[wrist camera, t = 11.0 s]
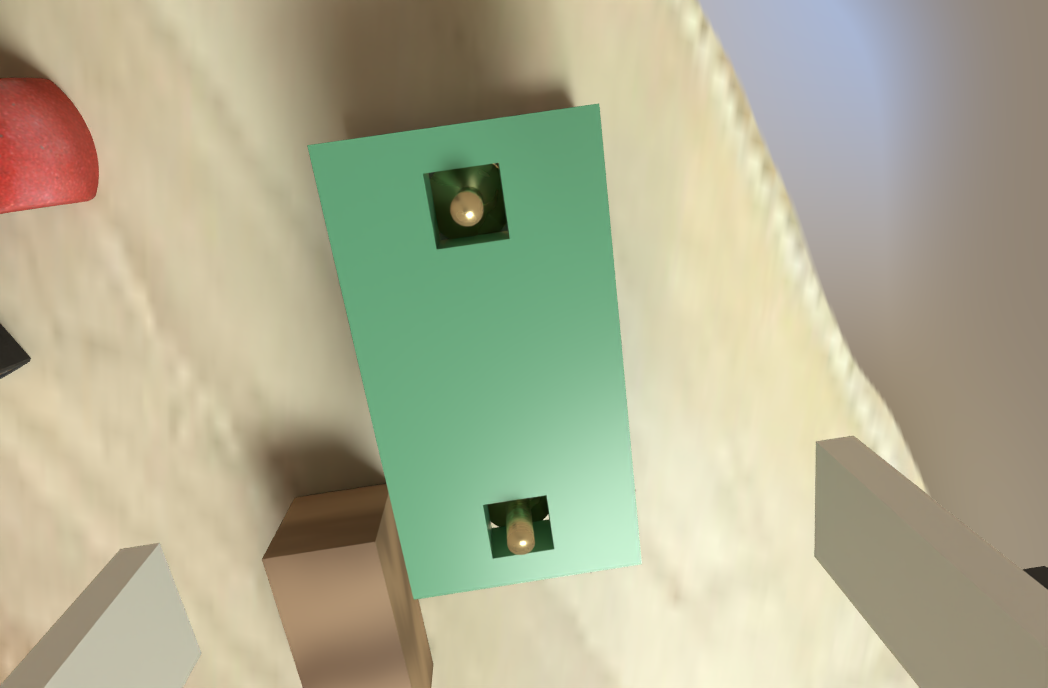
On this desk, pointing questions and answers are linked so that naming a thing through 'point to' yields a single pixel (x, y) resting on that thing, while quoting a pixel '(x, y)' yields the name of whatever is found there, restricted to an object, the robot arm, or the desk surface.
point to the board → (489, 346)
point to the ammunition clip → (10, 354)
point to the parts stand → (347, 593)
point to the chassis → (469, 210)
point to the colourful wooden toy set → (43, 147)
